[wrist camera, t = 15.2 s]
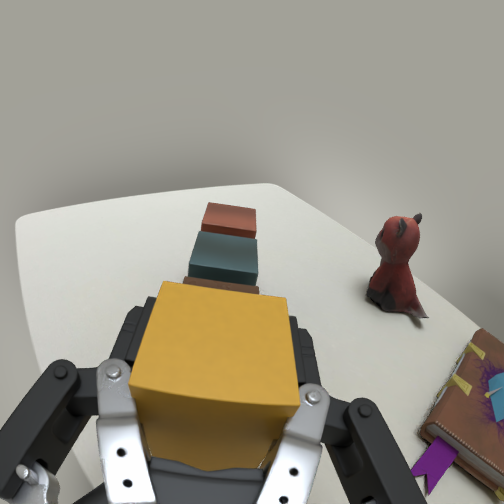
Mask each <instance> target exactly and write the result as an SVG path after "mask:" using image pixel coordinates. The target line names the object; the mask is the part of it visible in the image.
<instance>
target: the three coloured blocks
mask: <svg viewBox="0 0 504 504" xmlns="http://www.w3.org/2000/svg"><path fill="white" fill-rule="evenodd" d="M255 236H256V209H251V208H245V207H238V206H231V205H224V204H217V203H210V202H209V203H208V205H207V208H206V211H205V214H204V217H203V220H202V224H201V231H199V233H198V236H197V239H196V242H195V245H194V248H193V252H192V255H191V258H190V261H189V268H188V277H187V276H185V278H184V281H183V284H187V285H194V286H200V287H207V288H214V289H221V290H228V291H236V292H243V293H251V294H259V287H258V286H256V281H257V277H258V254H257V239H255Z"/></svg>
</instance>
